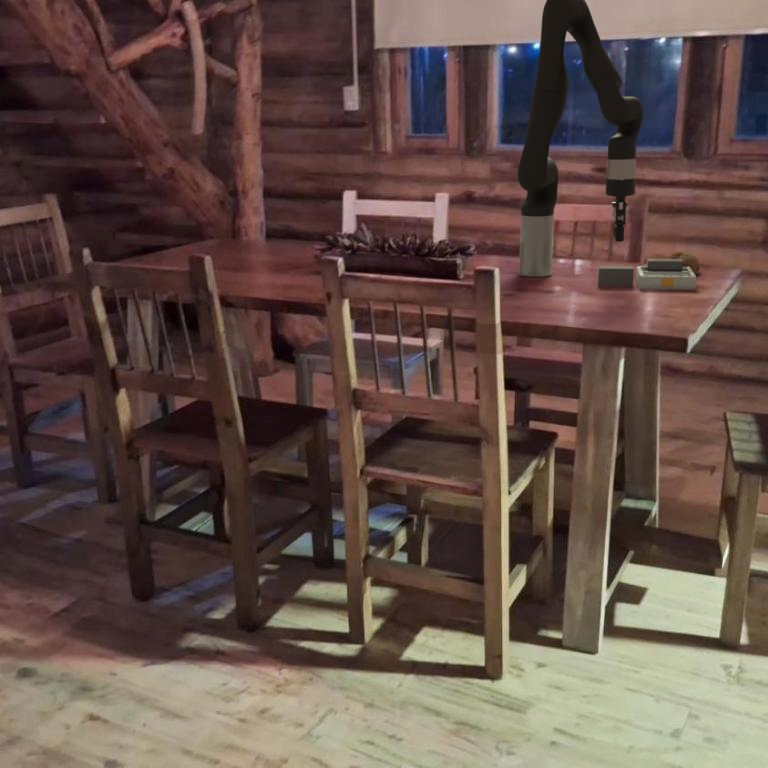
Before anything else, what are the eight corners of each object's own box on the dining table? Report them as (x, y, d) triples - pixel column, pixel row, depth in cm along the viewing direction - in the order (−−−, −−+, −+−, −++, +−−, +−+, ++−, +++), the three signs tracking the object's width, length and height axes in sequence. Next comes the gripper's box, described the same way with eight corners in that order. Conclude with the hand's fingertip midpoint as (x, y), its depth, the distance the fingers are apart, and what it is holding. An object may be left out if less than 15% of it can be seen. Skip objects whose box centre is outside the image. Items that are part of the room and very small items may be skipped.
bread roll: (691, 289, 247) (706, 264, 244) (657, 272, 249) (672, 247, 246) (691, 282, 256) (705, 258, 253) (659, 266, 258) (673, 242, 254)
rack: (639, 289, 230) (640, 267, 228) (636, 278, 244) (637, 257, 243) (695, 290, 227) (697, 267, 225) (688, 279, 242) (690, 257, 240)
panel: (598, 286, 236) (599, 268, 235) (598, 284, 240) (598, 265, 238) (632, 287, 234) (633, 268, 233) (632, 284, 238) (633, 266, 236)
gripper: (605, 175, 236) (603, 235, 241) (606, 179, 223) (604, 243, 227) (634, 174, 234) (631, 235, 239) (637, 178, 221) (634, 242, 226)
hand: (618, 239), depth 233 cm, fingers open, 8 cm apart
